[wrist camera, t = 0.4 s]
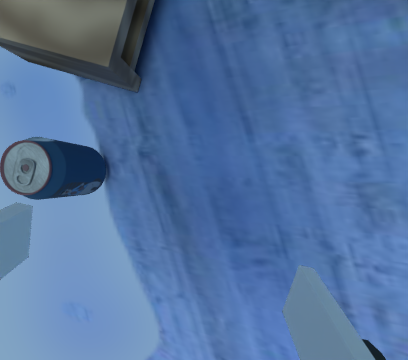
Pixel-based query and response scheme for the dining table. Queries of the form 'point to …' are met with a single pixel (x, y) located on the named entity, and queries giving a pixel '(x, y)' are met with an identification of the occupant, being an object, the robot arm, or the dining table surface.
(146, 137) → the dining table surface
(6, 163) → the soda can
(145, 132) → the dining table surface
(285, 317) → the robot arm
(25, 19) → the shelf
